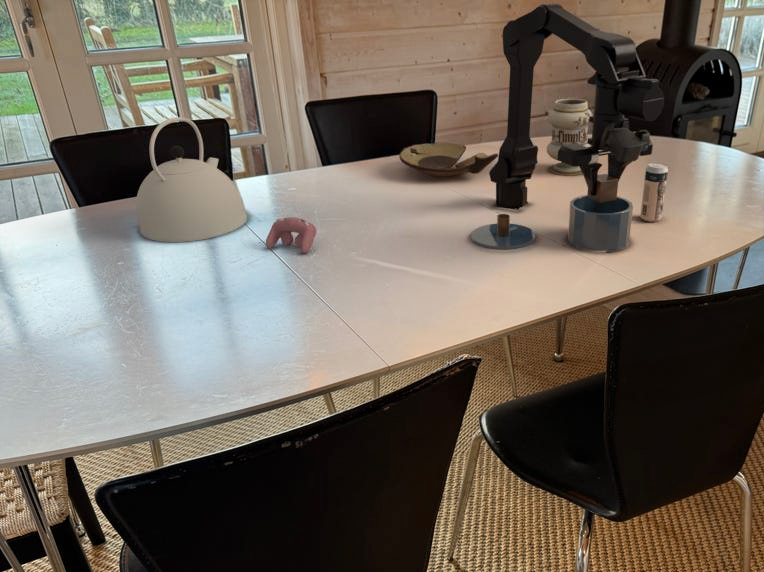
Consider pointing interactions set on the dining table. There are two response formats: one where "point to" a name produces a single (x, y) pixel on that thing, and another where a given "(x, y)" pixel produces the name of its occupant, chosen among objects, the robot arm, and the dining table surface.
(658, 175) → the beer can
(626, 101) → the robot arm
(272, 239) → the video game controller
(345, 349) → the dining table surface
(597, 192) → the block
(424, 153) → the oil lamp
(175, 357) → the dining table surface
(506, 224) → the lid
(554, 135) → the apothecary jar
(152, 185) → the kettle
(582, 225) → the pot
